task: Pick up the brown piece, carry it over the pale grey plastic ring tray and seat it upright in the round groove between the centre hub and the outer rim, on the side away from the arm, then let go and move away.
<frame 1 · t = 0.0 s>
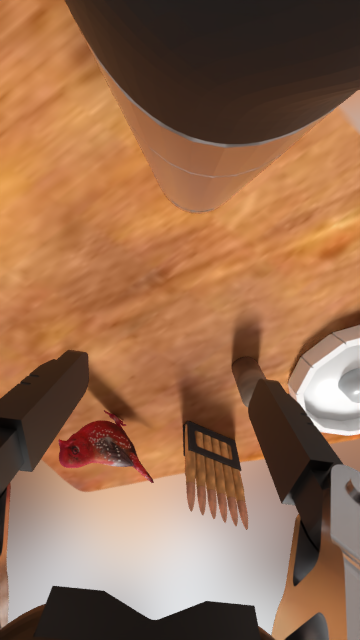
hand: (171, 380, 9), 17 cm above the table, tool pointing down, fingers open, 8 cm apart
ring tray: (352, 378, 30), on the table
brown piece: (244, 367, 29), on the table
decorative bird figurine: (125, 421, 35), on the table
ammunition clip: (209, 432, 36), on the table
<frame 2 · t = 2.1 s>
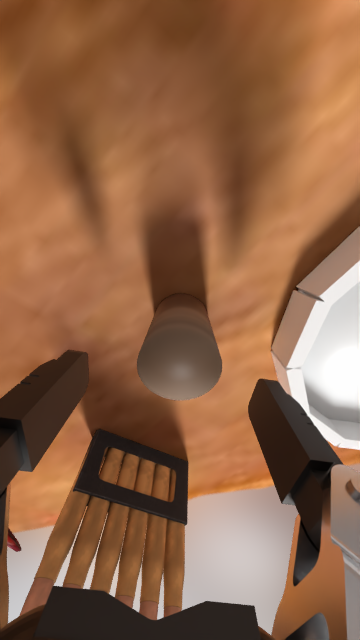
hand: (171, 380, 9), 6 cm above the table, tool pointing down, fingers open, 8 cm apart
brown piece: (181, 319, 14), on the table
ammunition clip: (142, 448, 21), on the table
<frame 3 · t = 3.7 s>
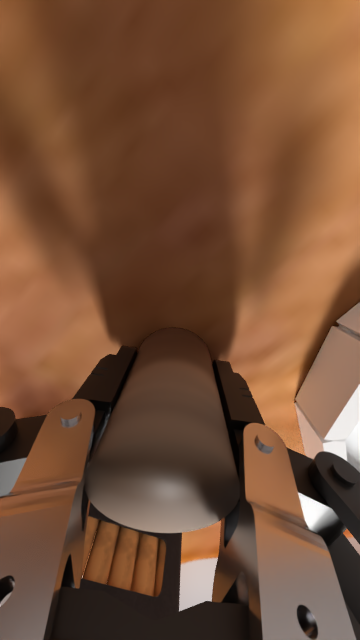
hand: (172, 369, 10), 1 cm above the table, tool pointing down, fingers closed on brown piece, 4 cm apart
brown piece: (173, 360, 10), on the table, touching gripper
ammunition clip: (124, 508, 17), on the table
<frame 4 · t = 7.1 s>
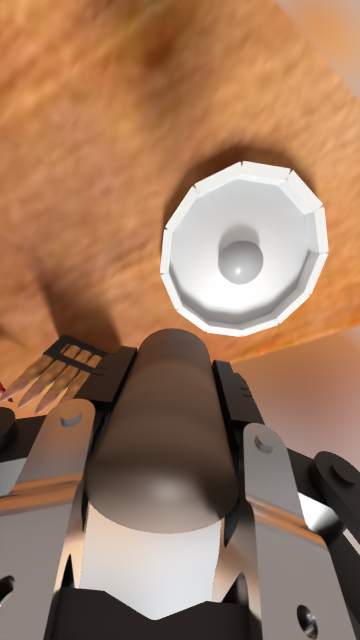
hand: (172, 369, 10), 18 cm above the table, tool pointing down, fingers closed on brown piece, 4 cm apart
ring tray: (236, 261, 25), on the table
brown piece: (173, 361, 10), point 17 cm above the table, touching gripper
ammunition clip: (95, 352, 31), on the table
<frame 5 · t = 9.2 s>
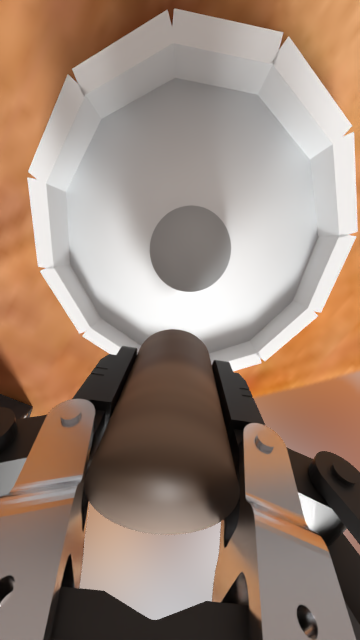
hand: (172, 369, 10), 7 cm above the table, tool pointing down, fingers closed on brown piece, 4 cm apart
ring tray: (189, 250, 14), on the table
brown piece: (173, 362, 10), point 6 cm above the table, touching gripper
when the fingers open (3 cm above the table, at t = 10.7 s): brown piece drops 1 cm, resting on ring tray.
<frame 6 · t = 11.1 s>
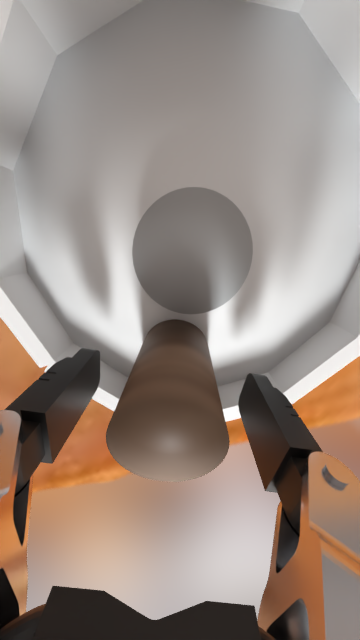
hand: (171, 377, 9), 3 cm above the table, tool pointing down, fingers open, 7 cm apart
ring tray: (190, 254, 10), on the table
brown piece: (175, 349, 12), point 1 cm above the table, touching ring tray
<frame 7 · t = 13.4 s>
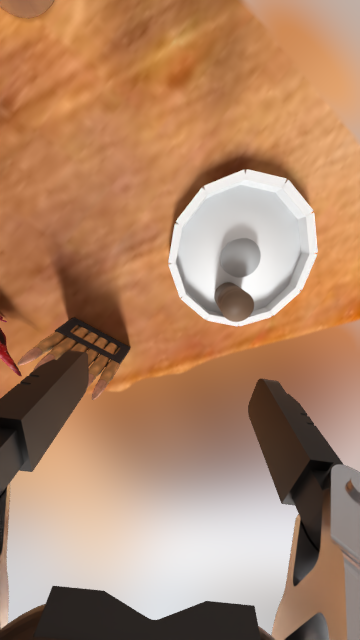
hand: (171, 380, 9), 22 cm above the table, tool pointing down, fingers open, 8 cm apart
ring tray: (236, 257, 28), on the table
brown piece: (227, 295, 29), point 1 cm above the table, touching ring tray
decorative bird figurine: (6, 318, 32), on the table
ammunition clip: (101, 336, 33), on the table
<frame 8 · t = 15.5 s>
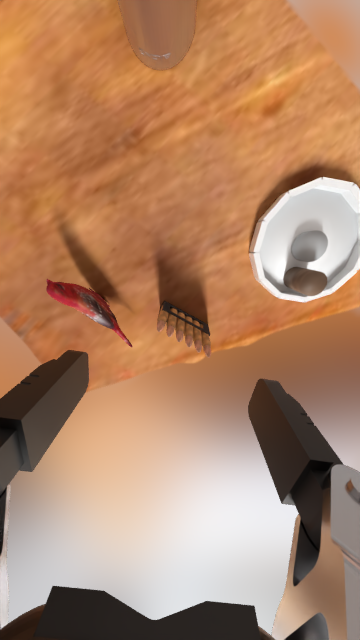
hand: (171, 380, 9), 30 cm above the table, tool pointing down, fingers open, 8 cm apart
ring tray: (303, 246, 34), on the table
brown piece: (294, 277, 36), point 1 cm above the table, touching ring tray
decorative bird figurine: (108, 304, 39), on the table
ammunition clip: (184, 316, 40), on the table
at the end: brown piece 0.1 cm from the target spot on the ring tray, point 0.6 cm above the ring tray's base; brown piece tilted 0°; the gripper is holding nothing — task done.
